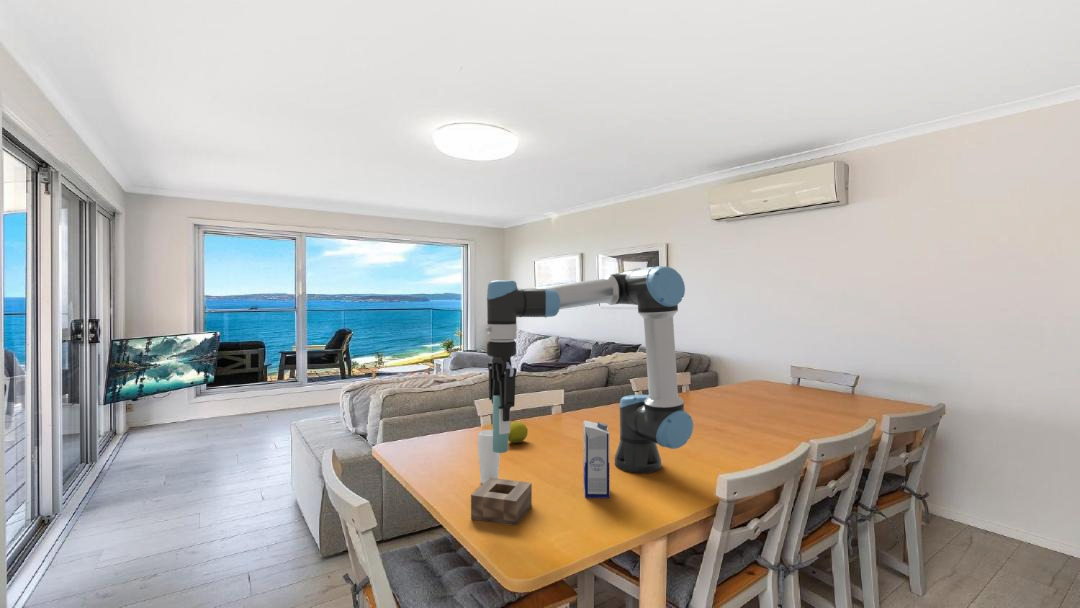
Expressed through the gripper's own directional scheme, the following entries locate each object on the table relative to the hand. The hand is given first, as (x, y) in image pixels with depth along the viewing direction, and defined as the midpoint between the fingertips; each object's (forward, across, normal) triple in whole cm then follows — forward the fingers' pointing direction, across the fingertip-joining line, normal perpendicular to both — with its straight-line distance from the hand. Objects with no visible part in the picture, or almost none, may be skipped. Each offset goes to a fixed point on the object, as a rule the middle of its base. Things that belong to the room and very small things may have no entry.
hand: (501, 430), depth 123 cm
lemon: (+21, -52, +28) cm, 62 cm away
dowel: (+5, 0, 0) cm, 5 cm away
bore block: (+21, 0, 0) cm, 21 cm away
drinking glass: (+21, -20, +5) cm, 29 cm away
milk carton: (+21, +1, +29) cm, 36 cm away
